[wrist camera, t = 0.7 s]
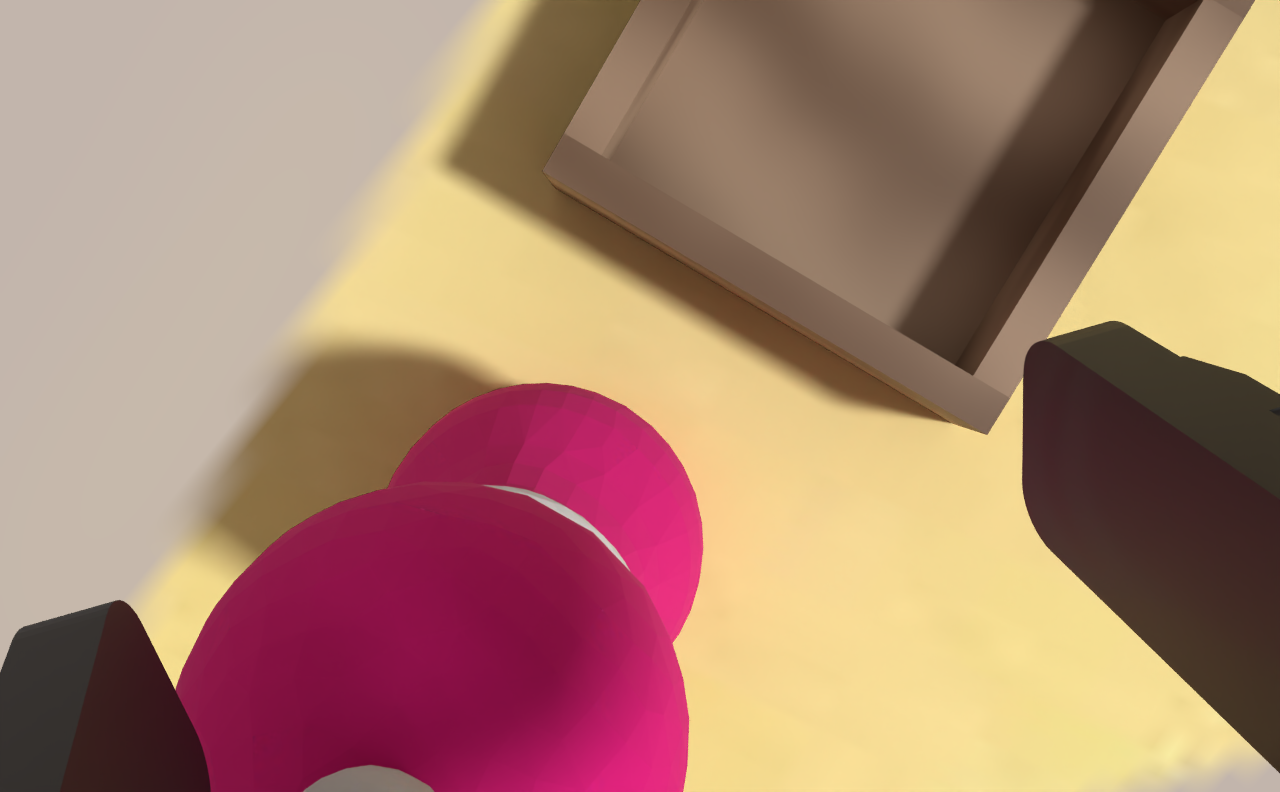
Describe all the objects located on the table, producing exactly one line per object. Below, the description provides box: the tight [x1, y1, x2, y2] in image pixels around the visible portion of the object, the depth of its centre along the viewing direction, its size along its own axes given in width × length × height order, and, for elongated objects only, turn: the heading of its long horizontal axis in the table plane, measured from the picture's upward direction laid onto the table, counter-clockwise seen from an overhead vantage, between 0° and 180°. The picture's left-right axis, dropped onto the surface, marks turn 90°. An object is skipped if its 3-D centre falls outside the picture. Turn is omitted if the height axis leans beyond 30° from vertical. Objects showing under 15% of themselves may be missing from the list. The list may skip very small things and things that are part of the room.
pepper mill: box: [176, 383, 703, 792], centre depth 19 cm, size 7×7×20 cm
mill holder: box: [542, 0, 1255, 435], centre depth 27 cm, size 12×12×3 cm
